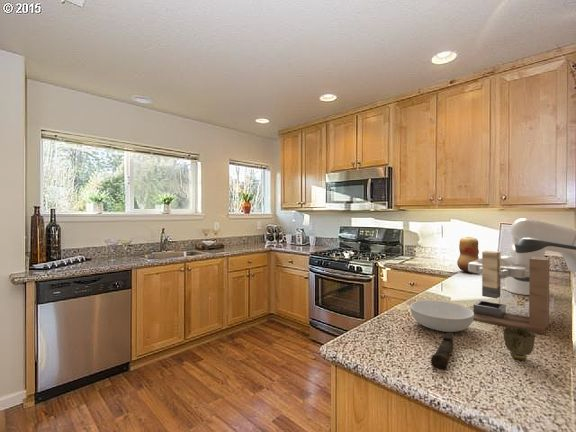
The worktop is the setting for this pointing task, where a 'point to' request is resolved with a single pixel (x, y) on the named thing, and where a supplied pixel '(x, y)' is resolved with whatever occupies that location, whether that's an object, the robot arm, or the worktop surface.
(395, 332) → the worktop surface
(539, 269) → the l-shaped wooden bracket
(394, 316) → the worktop surface
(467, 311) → the serving bowl
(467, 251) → the butternut squash
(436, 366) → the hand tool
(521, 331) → the cup
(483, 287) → the rail bar
